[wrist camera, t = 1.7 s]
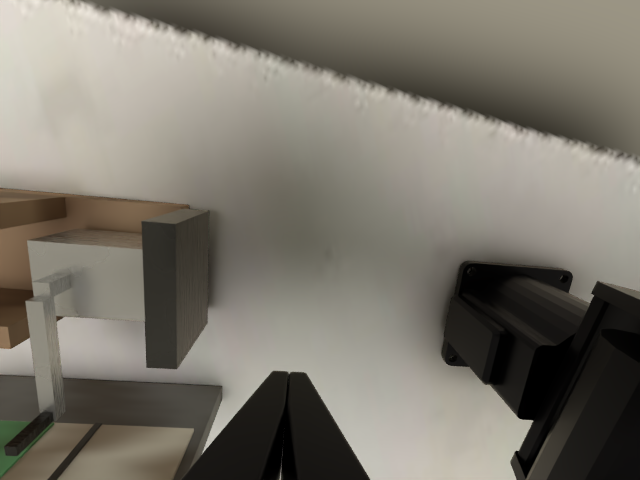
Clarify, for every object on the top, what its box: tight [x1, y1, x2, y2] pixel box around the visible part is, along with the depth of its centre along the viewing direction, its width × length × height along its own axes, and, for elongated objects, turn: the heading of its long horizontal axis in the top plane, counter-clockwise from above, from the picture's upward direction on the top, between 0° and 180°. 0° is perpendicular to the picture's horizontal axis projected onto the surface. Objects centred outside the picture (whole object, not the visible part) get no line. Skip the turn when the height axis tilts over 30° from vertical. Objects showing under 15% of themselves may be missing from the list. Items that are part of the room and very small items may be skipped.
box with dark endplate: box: [4, 209, 209, 456], centre depth 12 cm, size 6×8×6 cm
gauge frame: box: [0, 188, 222, 480], centre depth 12 cm, size 15×12×9 cm
